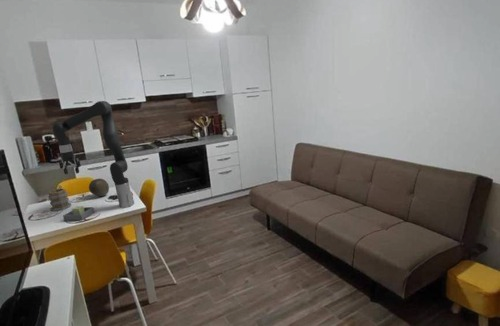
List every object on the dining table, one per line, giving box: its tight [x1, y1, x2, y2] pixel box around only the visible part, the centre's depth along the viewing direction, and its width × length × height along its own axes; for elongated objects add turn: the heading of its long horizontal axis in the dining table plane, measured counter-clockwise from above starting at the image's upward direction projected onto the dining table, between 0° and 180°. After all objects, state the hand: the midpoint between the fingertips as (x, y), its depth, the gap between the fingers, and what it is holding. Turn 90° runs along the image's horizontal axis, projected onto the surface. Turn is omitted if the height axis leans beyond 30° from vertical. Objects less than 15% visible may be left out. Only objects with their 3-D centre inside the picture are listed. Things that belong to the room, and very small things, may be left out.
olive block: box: [71, 205, 85, 215], centre depth 206 cm, size 5×5×6 cm
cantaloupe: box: [88, 178, 110, 197], centre depth 246 cm, size 14×14×15 cm
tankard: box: [47, 185, 72, 212], centre depth 231 cm, size 20×13×15 cm, turn 18°
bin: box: [62, 206, 95, 222], centre depth 207 cm, size 13×13×4 cm
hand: (72, 173), depth 212 cm, fingers open, 8 cm apart
